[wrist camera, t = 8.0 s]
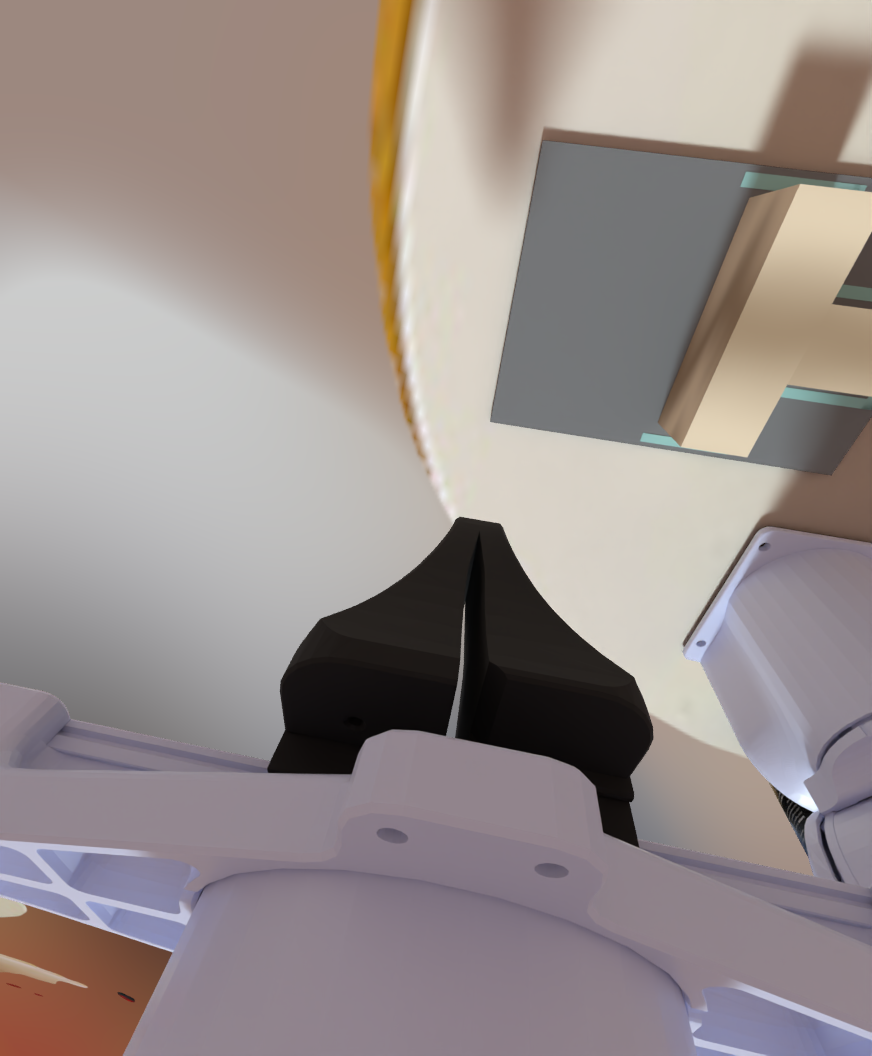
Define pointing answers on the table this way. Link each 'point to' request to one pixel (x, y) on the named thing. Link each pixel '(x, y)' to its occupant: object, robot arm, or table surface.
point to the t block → (775, 319)
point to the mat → (648, 301)
